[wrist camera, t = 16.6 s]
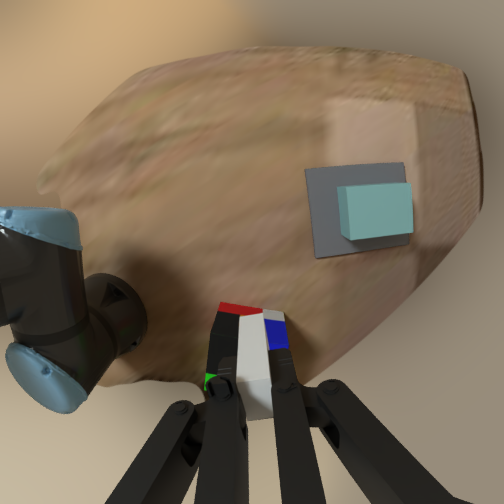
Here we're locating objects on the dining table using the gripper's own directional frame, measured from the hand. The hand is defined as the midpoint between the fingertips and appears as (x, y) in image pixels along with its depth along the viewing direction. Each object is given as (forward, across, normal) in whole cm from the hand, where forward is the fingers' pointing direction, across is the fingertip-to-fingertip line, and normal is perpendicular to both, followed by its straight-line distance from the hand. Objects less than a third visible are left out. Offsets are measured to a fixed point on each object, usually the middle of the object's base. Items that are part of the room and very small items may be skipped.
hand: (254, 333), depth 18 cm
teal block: (+21, +14, +4) cm, 25 cm away
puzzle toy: (+25, -3, -14) cm, 28 cm away
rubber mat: (+24, +17, +3) cm, 30 cm away
